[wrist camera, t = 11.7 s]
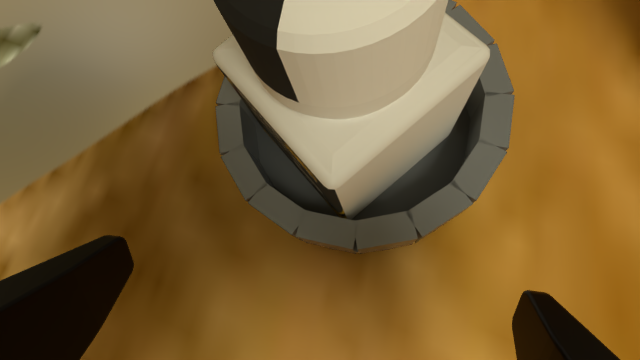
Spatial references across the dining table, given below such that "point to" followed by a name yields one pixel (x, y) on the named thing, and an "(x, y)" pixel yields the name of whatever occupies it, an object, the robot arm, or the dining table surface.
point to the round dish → (397, 200)
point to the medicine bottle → (350, 85)
